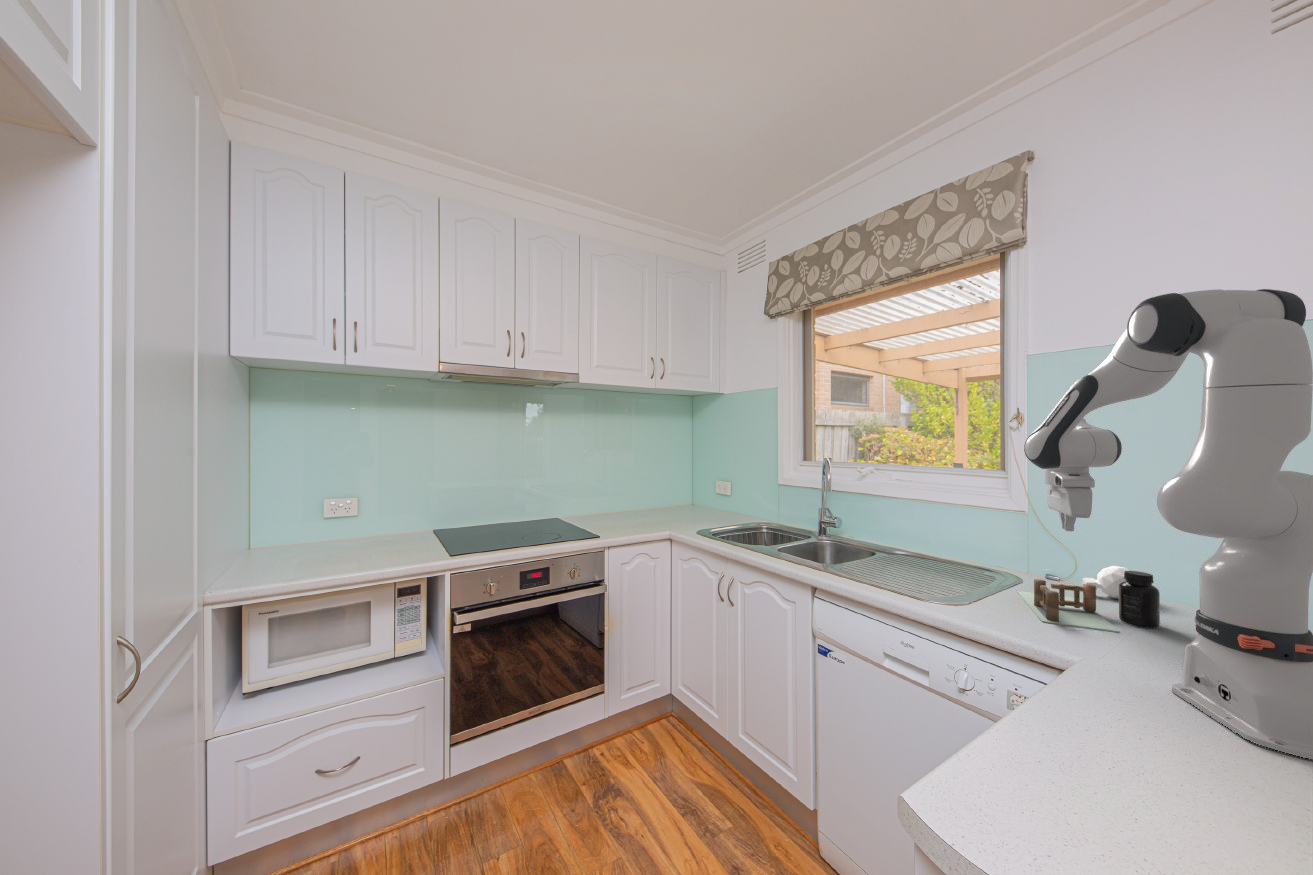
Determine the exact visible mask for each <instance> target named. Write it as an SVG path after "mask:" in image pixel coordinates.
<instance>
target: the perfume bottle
mask: <svg viewBox="0 0 1313 875" xmlns="http://www.w3.org/2000/svg"><path fill="white" fill-rule="evenodd" d="M1125 571H1132V570H1130V569H1129V568H1127V567H1124V566H1123V567H1122V566H1118V565H1111V566H1108V567H1104V568H1102V569H1101V570H1100V571H1099V572H1098V573H1097V574H1096V576H1097V577H1096V578H1097V579H1095V578H1094V577H1082V585H1083V584H1090V585H1094V586H1096V591H1098V589H1100V590H1101V592H1102V593H1104V594H1105V595H1107V596H1108V597H1110V598H1111V599H1117V600H1119V584H1120V583H1121V582H1124V581H1126V580H1125V579H1124V572H1125Z"/></svg>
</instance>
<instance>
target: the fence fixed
mask: <svg viewBox="0 0 1313 875" xmlns="http://www.w3.org/2000/svg"><path fill="white" fill-rule="evenodd" d="M1033 593H1034V605H1035V606H1038V607H1043V609H1045V610H1046V619H1048V620H1050V621H1054V622H1057V621H1059V591H1054V590H1050V589H1049V587H1047V581H1046V580H1044V579H1038V578H1037V579H1036V578H1035V579H1033Z"/></svg>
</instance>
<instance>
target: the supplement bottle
mask: <svg viewBox="0 0 1313 875" xmlns="http://www.w3.org/2000/svg"><path fill="white" fill-rule="evenodd" d="M1124 579H1125V580H1126V581H1124V582H1121V583H1120V584H1119V599H1118V618H1119V620H1120V621H1122V622H1123V623H1125V624H1128V625H1131V626H1134V627H1138V628H1139V627H1140V628H1146V629H1157V628H1159V627H1160V625H1161V623H1160V622H1161V616H1160V615H1161V613H1160V612H1161V609H1160V608H1161V605H1160V603H1161V602H1160V601H1161V598H1160V597H1161V596H1160V590H1159V589H1158V588H1157V587H1156V586H1155V585H1153V584H1154V575H1153V574H1152V573H1148V572H1144V571H1136V570H1131V571H1125V572H1124Z"/></svg>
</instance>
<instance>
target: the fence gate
mask: <svg viewBox="0 0 1313 875" xmlns="http://www.w3.org/2000/svg"><path fill="white" fill-rule="evenodd" d="M1050 588H1051V589H1053V590H1054V589H1055V590H1058V593H1059V606H1063V607H1065V605H1067V606H1074V607H1075V608H1080V607H1083V609H1084V610H1087V611H1091V612H1097V590H1096V586H1094V585H1090V584H1083V583H1082V586H1081V585H1080V586H1079V585H1070V584H1069V585H1068V584H1063V583H1050ZM1065 591H1073V597H1074V601H1066V600H1065V597H1066V595H1065V594H1066V593H1065ZM1081 592H1082V600H1083V602H1080V599H1081V596H1080V593H1081Z"/></svg>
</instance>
